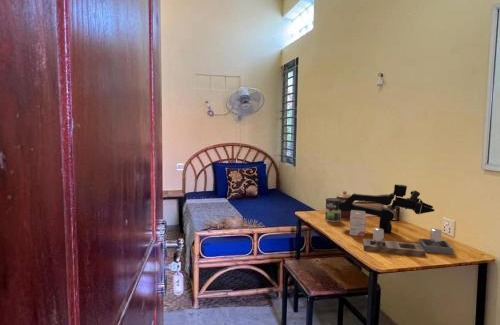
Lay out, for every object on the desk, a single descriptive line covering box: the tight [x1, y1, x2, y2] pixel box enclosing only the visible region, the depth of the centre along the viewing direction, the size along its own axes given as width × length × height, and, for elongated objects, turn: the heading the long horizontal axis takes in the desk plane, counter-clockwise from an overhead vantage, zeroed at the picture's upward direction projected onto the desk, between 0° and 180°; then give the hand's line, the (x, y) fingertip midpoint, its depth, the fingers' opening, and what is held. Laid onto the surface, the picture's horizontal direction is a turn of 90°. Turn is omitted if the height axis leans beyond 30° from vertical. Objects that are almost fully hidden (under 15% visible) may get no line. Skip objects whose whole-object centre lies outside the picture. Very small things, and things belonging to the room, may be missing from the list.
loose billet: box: [429, 228, 443, 247], centre depth 181 cm, size 5×5×10 cm
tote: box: [418, 238, 454, 255], centre depth 181 cm, size 13×13×3 cm
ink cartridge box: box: [349, 210, 367, 237], centre depth 204 cm, size 9×5×15 cm, turn 70°
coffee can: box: [324, 197, 342, 223], centre depth 237 cm, size 10×10×14 cm
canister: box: [335, 190, 352, 218], centre depth 251 cm, size 13×13×18 cm
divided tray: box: [362, 238, 426, 257], centre depth 179 cm, size 28×12×2 cm, turn 75°
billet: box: [372, 227, 385, 246], centre depth 181 cm, size 5×5×10 cm
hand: (433, 208), depth 200 cm, fingers open, 9 cm apart
